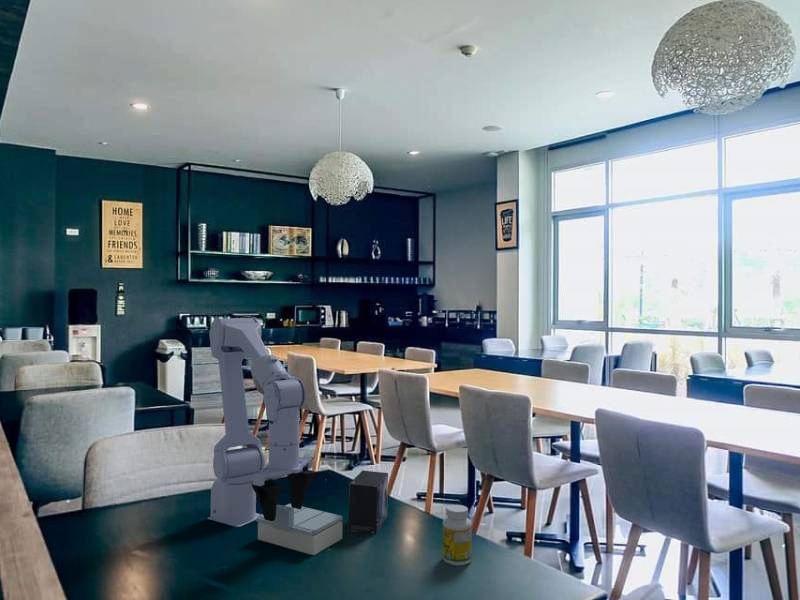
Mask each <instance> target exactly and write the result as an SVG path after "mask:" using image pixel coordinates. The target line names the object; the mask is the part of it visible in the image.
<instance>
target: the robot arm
mask: <svg viewBox="0 0 800 600" xmlns="http://www.w3.org/2000/svg"><path fill="white" fill-rule="evenodd" d="M208 334H209V342H210V343H209V344H210V351H211V357H212V358H214V359H216V360H217V361H218V367H219V369H218V370H219V377H220V378H219V379H220V388H221V400H222V408H223V410H222V411H223V418H224V419H223V420H224V430H225V435H224V436H223V437H222V438H221V439H220V440H219V441H218V442H217V443H216V444H215V446H214V447H213V460H212V469H213V474H214V476H215V477H216V479H215V480H214V481H213V483H212V485H211V489H210V516H209V517H207V520H212V521H215V522H219V523H222V524H226V525H229V526H232V527H235V528H237V527H240V528H241V527H242V526H244V525H246V524H249V523H251V522H254V521H256V518H257V517H260V516H262V515H264V519H265V520H268V521H275V518H276V507H277V505H278V497H279V494H280V491H281V489H282V485H280V484H275V480H277V479H280V478H282V477H287V480H288V485H289V495H290V498H289V499H290V504H291V506H292V508H296V509H301V508H302V507H303V504H304V500H305V496H306V493H307V490H308V487H309V484H310V482H311V480H312V479H313V477H314V474H315V473H314V470H311V468H313V458H312V457H309V456H303V457H300V409H301V408H302V407H303V406H304V405H305V402H306V388H305V385H304V383H303V381H302V379H301V378H299V377H295V376H293V375H290V374H289V372H288V371H287V370H286V368H285V367H284V365H283V364H282V362H281V361H280V360H279V358H278V357H277V356H276V355H274V354H269V351H268V350H267V348H266V345H265V344H264V341H263V340H262V325H261V323H260V321H259V319H258V318H257V317H246V318H245V317H244V318H243V317H240V318H238V317H235V318H231V317H230V318H229V317H228V318H227V317H226V318H221V317H215V318H214V319H213V320H212V322H211V325H210V329H209V333H208ZM246 357H248V359H249V360H250V361H251V362H252V364H253V365H252V367H251V368H252V369H251V370H252V372H251V373H252V374H253V376H254V377H255V379H256V381H257V382H258V384H259V385H260V387H261V389H262V391H263V394H262V395H263V397H262V398H263V404H264V407H265V416H266V419H267V420H268V465H267V466H265V465H266V457H265V453H264V450H263V447H262V444H261V443H262V442H261V439H260V438H259V437H257V436H255V435H254V434H253V433H252V432H250V429H249V422H248V421H249V419H248V410H247V401H246V400H247V399H246V392H245V384H244V383H245V382H244V373H243V364H242V363H243V361H244V358H246ZM242 446H243V447H242ZM244 446H245V447H244ZM236 447H238V448H236ZM239 447H240V448H239ZM230 448H234V449H230ZM256 498H257V499H258V501H259V504H260V507H261V508H260V509H261V511H262V513H257V511H256V510H257V508H256V506H257V499H256Z"/></svg>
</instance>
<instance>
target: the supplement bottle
mask: <svg viewBox="0 0 800 600" xmlns="http://www.w3.org/2000/svg"><path fill="white" fill-rule="evenodd" d="M445 514H446V517H445V518H444V519H443V521H442V559H443V561H444V562H445V563H447V564H449V565H452V566H458V567H459V566H460V565H461V566H466V565H468V564H470V562H471V561H472V547H473V546H472V544H473V543H472V542H473V541H472V538H473V537H472V535H473V534H472V521H471V519H469V518H468V516H469V508H468V507H467V506H465V505H462V504H449V505H447V507H446V513H445Z"/></svg>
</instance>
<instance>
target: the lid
mask: <svg viewBox="0 0 800 600" xmlns="http://www.w3.org/2000/svg"><path fill="white" fill-rule="evenodd" d="M343 519H344V518H343V515H341V514H335V513H331V512H327V511H323V510H318V509H314V508H310V507H305V506H302V508H301V509H296V508H292V506H291V503H288V504H285V505H282V504H277V507H276V518H275V521H268V520H265V519H264V515H263V514H262V516H261V515H260V517H257V518H256V520H255V522H257V523H258V522H260V523H264V524H268V525H271V526H273V528H277V529H280V530H284V531H288V532H289V531H294V532H298V533H301V534H305V535H309V536H312V535H314V534H316V533H318V532H320V531H322V530H324V529H326V528H328V527H329V526H331V525H333V524H335V523H337V522H339V521H343Z"/></svg>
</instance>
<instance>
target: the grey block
mask: <svg viewBox="0 0 800 600" xmlns="http://www.w3.org/2000/svg"><path fill="white" fill-rule="evenodd" d="M257 540H258V541H262V542H266V543H268V544H273V545H276V546H280V547H284V548H286V549H289V550H294V551H297V552H301V553H304V554H307V555H311V556H314V555H315V556H316V555H317V554H318V553H320V552H322V551H323V550H325V549H327V548H329V547H330V546H332V545H334V544H336V543H339V542H340V541H341V540H343V520H341V521H339V522H337V523H335V524H333V525H331V526H329V527H328V528H326V529H324V530H322V531H320V532H318V533H316V534H314V535H312V536H309V535H305V534H301V533H298V532H294V531H289V532H288V531H284V530H280V529H277V528H273V526H271V525H268V524H264V523H260V522H257Z"/></svg>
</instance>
